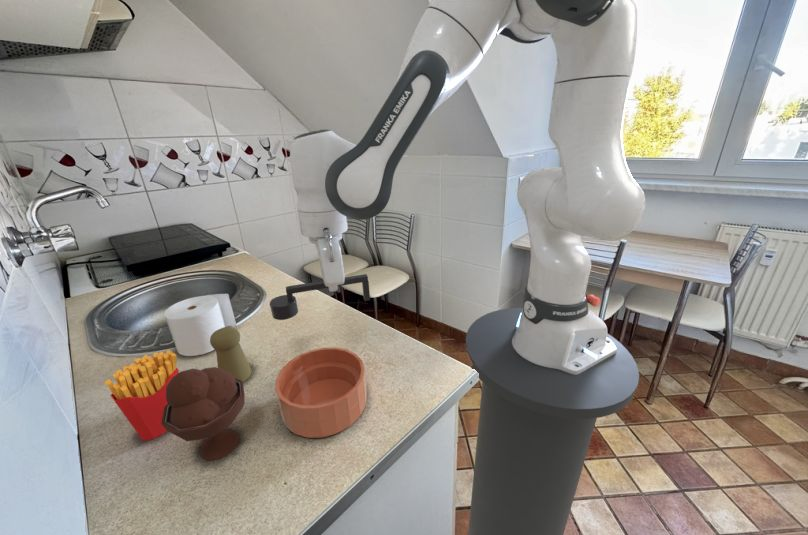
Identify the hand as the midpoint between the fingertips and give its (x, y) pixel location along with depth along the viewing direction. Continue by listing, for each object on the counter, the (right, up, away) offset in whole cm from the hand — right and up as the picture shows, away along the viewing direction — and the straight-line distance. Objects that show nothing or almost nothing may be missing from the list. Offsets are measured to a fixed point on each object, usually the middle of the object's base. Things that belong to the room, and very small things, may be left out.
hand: (332, 287), depth 67 cm
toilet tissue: (-34, -14, +12) cm, 38 cm away
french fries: (-27, -23, -11) cm, 37 cm away
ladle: (-2, -4, +1) cm, 5 cm away
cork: (-20, -19, 0) cm, 27 cm away
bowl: (0, -21, -8) cm, 22 cm away
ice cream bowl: (-15, -25, -15) cm, 33 cm away
